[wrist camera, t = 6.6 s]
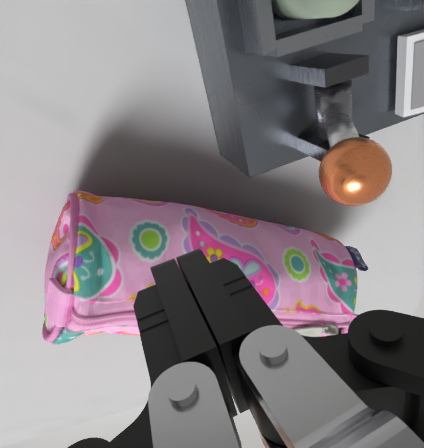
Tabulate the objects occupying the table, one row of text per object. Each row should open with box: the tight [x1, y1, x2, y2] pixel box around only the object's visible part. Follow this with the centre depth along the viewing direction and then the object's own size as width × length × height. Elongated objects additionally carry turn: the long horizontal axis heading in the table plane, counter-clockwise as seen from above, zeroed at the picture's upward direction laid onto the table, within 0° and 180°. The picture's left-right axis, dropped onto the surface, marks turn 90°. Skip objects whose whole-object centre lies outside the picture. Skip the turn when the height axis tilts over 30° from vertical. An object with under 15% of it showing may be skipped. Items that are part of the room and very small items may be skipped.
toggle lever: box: [314, 80, 392, 206], centre depth 16 cm, size 3×2×10 cm
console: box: [185, 0, 424, 177], centre depth 21 cm, size 12×17×8 cm
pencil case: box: [43, 190, 368, 345], centre depth 25 cm, size 21×9×9 cm, turn 69°
